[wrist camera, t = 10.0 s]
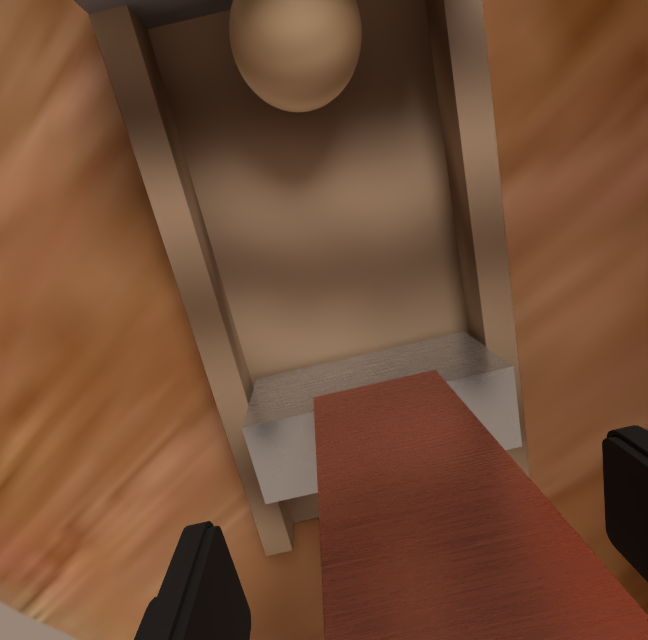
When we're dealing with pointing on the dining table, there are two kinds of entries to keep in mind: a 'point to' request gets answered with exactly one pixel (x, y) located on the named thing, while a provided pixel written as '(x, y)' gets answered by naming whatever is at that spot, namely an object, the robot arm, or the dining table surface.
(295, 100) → the walnut
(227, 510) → the dining table surface
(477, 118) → the grey tray
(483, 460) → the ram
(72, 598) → the dining table surface
